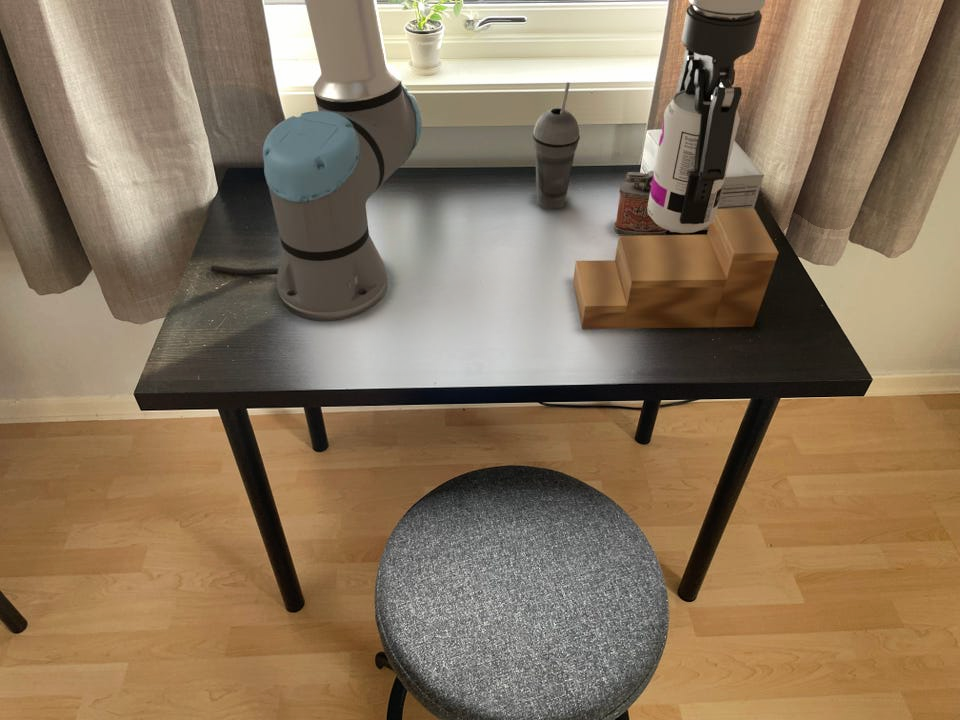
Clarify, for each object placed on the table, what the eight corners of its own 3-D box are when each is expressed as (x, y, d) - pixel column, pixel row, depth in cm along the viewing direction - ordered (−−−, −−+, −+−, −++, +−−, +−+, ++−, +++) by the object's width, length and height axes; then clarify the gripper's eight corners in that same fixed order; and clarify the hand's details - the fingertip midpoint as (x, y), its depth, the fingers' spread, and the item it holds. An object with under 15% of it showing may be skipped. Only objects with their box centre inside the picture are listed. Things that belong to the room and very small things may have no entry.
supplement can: (633, 217, 92) (652, 101, 82) (671, 193, 96) (694, 79, 86) (688, 244, 88) (716, 125, 78) (725, 217, 92) (757, 101, 82)
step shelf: (581, 329, 98) (591, 255, 90) (572, 283, 105) (581, 210, 97) (753, 326, 99) (778, 252, 90) (732, 281, 106) (754, 208, 97)
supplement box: (750, 228, 116) (766, 174, 109) (669, 234, 114) (681, 180, 108) (710, 174, 128) (723, 123, 121) (637, 179, 126) (646, 128, 120)
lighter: (665, 226, 116) (676, 168, 109) (666, 238, 113) (679, 180, 107) (613, 223, 116) (621, 166, 110) (614, 235, 114) (622, 177, 107)
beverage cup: (539, 185, 125) (546, 67, 111) (579, 195, 122) (592, 76, 109) (521, 206, 120) (527, 86, 106) (563, 217, 118) (575, 95, 104)
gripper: (796, 45, 68) (737, 251, 83) (733, -26, 83) (693, 159, 98) (715, 46, 67) (671, 252, 83) (666, -25, 83) (637, 160, 98)
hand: (683, 201), depth 91 cm, fingers closed on supplement can, 8 cm apart
